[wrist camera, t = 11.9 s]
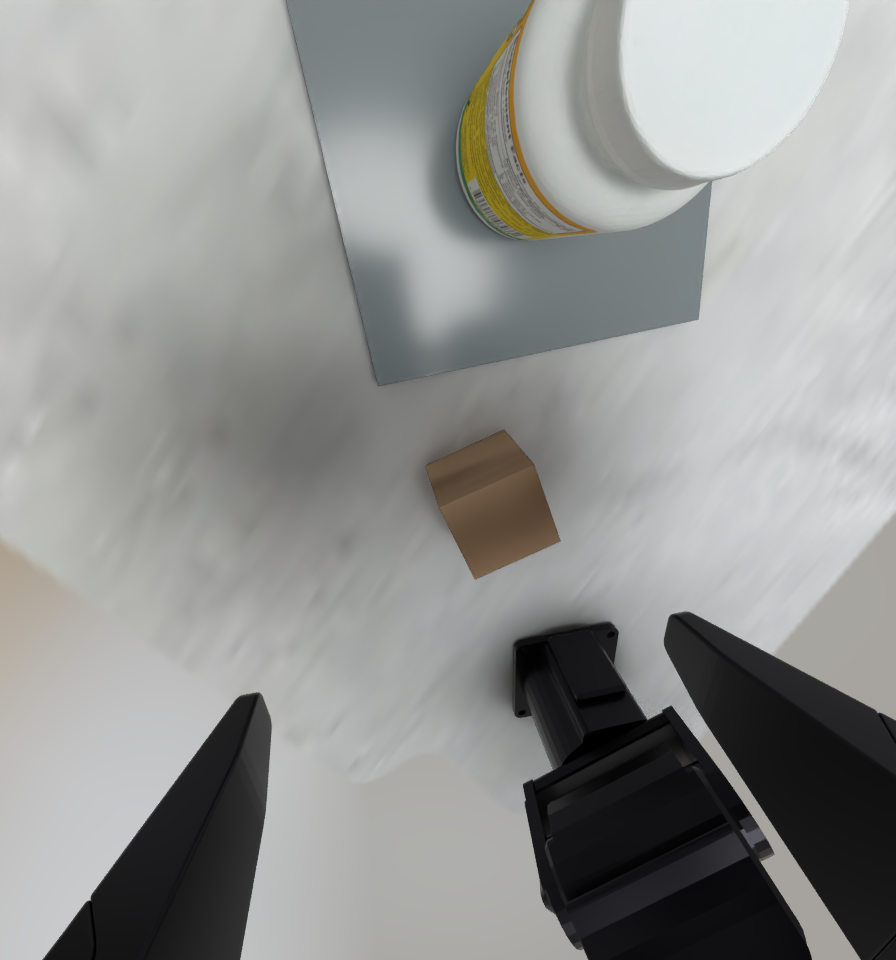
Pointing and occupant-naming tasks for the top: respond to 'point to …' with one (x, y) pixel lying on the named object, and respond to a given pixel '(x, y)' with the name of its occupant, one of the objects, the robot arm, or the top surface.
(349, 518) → the top surface
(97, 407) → the top surface
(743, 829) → the robot arm
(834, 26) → the supplement bottle
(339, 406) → the top surface
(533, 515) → the walnut block
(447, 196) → the coaster
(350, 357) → the top surface
